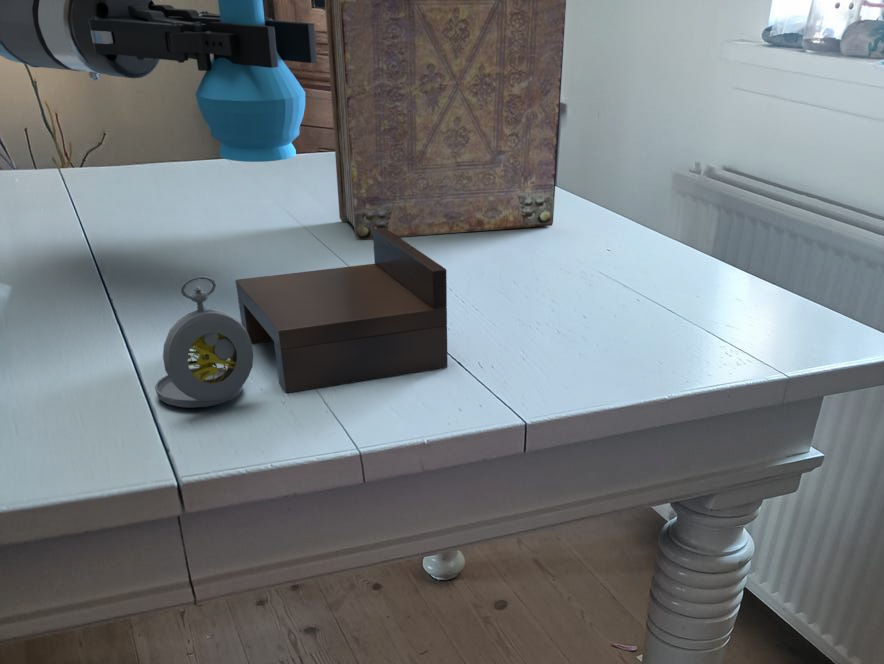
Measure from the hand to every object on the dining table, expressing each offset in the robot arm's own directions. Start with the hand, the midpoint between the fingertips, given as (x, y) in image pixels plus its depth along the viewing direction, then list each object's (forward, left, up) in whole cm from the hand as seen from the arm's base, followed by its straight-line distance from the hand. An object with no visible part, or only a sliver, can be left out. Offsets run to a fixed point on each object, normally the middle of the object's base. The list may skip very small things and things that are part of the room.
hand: (292, 45), depth 74 cm
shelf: (-1, -9, -22) cm, 24 cm away
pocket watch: (-14, -15, -22) cm, 30 cm away
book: (+25, +28, -22) cm, 43 cm away
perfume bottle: (-3, +5, -9) cm, 10 cm away
